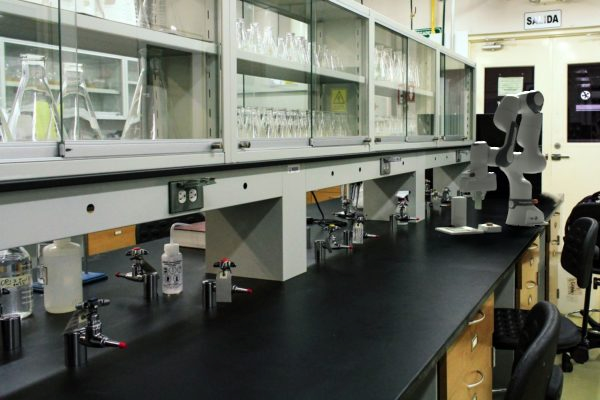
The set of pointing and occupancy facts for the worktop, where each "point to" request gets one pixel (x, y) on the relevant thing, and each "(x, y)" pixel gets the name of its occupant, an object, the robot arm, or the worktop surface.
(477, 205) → the sage marker
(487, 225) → the button
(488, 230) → the button housing
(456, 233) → the board
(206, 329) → the worktop surface
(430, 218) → the worktop surface
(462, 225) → the skincare box
